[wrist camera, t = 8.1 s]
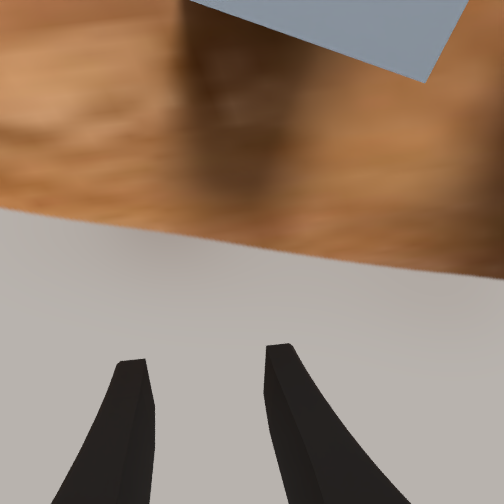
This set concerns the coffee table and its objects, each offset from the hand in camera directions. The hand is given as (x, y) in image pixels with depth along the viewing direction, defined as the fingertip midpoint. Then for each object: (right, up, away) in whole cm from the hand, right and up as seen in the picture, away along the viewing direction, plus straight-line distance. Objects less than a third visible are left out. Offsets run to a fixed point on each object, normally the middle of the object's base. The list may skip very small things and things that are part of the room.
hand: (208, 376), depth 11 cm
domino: (+1, +13, +4) cm, 14 cm away
